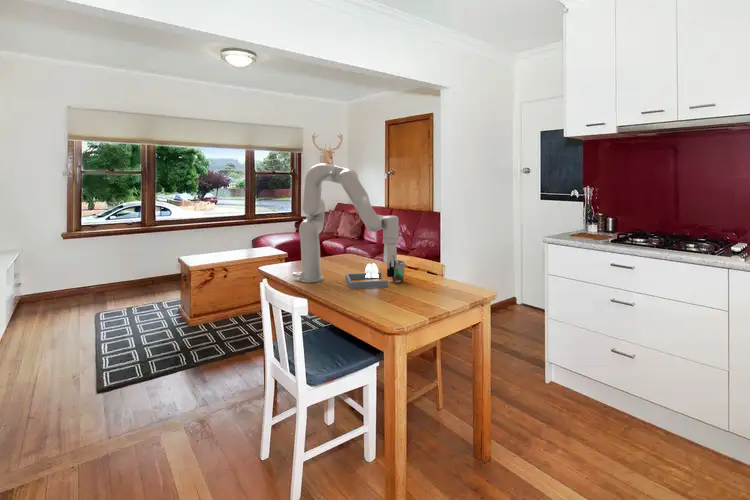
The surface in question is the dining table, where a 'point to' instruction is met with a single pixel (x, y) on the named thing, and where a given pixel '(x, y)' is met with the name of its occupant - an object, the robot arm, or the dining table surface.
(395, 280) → the food container
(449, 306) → the dining table surface
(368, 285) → the low box
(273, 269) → the dining table surface
